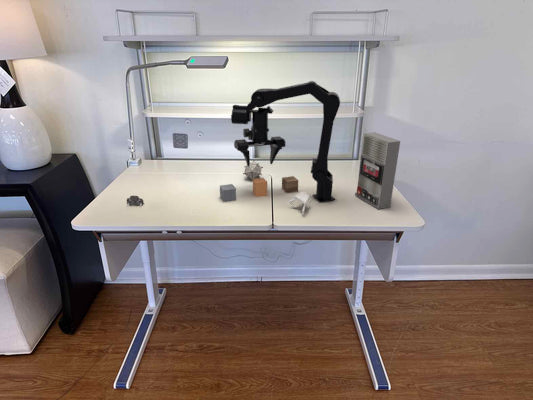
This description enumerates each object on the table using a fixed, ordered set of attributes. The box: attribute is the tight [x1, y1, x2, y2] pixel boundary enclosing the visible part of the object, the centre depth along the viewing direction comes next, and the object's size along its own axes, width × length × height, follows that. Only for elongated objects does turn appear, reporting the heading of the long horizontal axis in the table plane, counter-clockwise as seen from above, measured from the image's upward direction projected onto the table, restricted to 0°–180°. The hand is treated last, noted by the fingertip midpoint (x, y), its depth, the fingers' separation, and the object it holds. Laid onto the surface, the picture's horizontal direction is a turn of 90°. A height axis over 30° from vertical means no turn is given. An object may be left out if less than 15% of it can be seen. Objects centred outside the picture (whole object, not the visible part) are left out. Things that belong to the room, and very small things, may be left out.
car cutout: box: [126, 195, 145, 208], centre depth 137 cm, size 15×7×4 cm, turn 88°
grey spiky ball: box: [242, 159, 264, 182], centre depth 163 cm, size 9×8×10 cm
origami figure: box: [287, 191, 313, 216], centre depth 135 cm, size 12×8×5 cm
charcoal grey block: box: [219, 183, 237, 203], centre depth 144 cm, size 5×5×5 cm
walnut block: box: [281, 175, 299, 194], centre depth 152 cm, size 5×5×5 cm
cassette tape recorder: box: [354, 132, 401, 210], centre depth 138 cm, size 14×6×25 cm, turn 24°
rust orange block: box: [252, 177, 268, 198], centre depth 148 cm, size 4×4×6 cm
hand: (259, 165), depth 144 cm, fingers open, 9 cm apart
